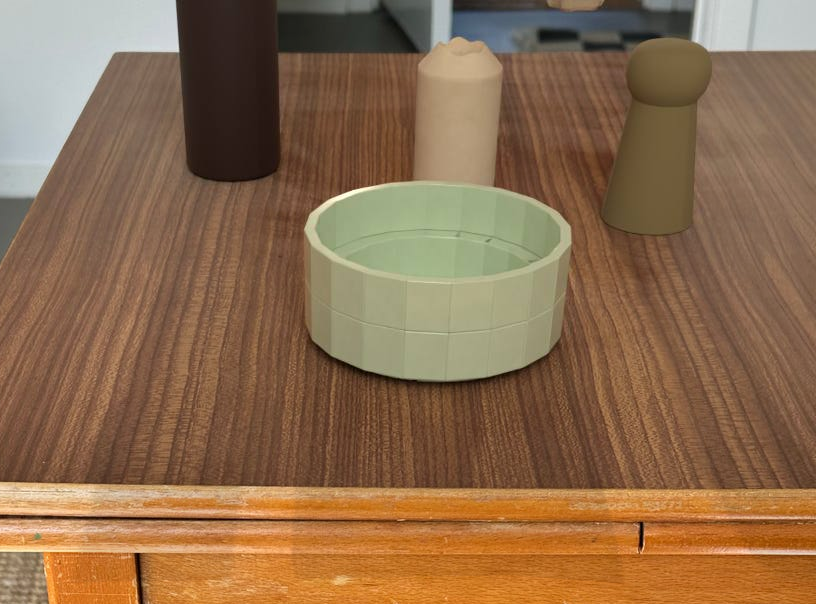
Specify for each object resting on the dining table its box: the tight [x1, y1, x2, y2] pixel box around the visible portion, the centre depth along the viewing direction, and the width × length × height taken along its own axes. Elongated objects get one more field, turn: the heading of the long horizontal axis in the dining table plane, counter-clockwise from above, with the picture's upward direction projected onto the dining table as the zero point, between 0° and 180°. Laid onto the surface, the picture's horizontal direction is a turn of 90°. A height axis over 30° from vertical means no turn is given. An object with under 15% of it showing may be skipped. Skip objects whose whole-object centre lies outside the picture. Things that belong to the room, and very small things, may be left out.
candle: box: [412, 36, 504, 187], centre depth 88 cm, size 6×6×10 cm
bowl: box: [303, 180, 573, 383], centre depth 73 cm, size 14×14×6 cm
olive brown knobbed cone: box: [600, 37, 713, 236], centre depth 85 cm, size 6×6×11 cm
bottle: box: [175, 0, 282, 182], centre depth 89 cm, size 7×7×20 cm
